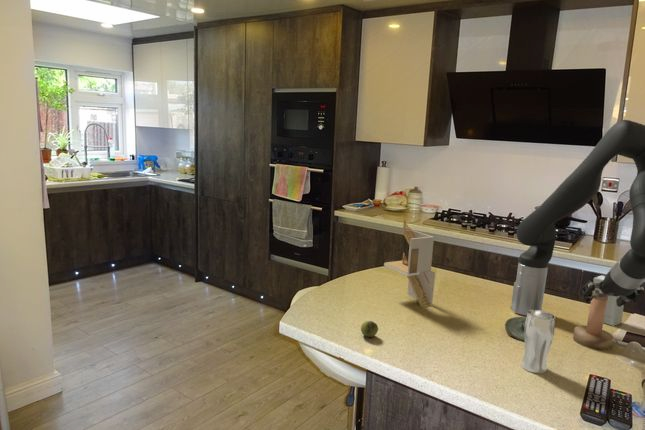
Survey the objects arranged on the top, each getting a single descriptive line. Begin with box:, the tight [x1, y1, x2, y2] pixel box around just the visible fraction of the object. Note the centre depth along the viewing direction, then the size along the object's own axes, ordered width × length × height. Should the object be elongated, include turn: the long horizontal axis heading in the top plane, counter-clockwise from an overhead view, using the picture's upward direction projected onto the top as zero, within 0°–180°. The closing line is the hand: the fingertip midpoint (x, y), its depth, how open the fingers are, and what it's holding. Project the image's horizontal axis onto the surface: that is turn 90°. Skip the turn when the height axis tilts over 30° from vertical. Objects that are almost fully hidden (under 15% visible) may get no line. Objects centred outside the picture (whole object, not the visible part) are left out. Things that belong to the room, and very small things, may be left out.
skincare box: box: [592, 274, 625, 327], centre depth 154 cm, size 8×6×15 cm
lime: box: [360, 320, 379, 338], centre depth 134 cm, size 4×5×5 cm
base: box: [572, 325, 614, 351], centre depth 138 cm, size 10×10×3 cm
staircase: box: [383, 219, 436, 308], centre depth 163 cm, size 10×16×29 cm, turn 29°
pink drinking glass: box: [586, 293, 608, 336], centre depth 137 cm, size 4×4×12 cm
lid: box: [504, 316, 526, 342], centre depth 140 cm, size 11×10×5 cm
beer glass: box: [520, 309, 556, 374], centre depth 119 cm, size 7×7×15 cm
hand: (602, 302), depth 134 cm, fingers open, 8 cm apart
